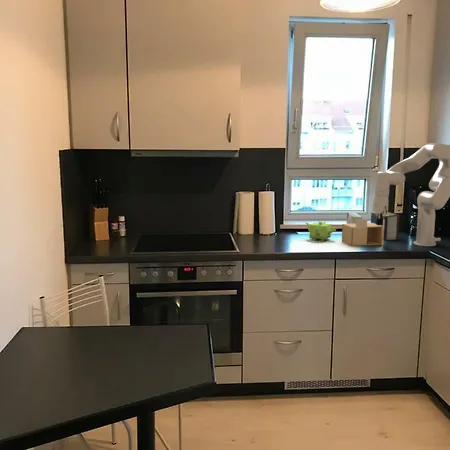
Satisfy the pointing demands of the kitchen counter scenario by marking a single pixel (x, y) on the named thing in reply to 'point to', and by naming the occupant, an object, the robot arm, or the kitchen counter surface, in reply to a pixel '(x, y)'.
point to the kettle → (320, 231)
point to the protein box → (388, 225)
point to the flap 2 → (383, 233)
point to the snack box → (352, 217)
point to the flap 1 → (360, 233)
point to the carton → (372, 234)
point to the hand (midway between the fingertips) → (379, 225)
